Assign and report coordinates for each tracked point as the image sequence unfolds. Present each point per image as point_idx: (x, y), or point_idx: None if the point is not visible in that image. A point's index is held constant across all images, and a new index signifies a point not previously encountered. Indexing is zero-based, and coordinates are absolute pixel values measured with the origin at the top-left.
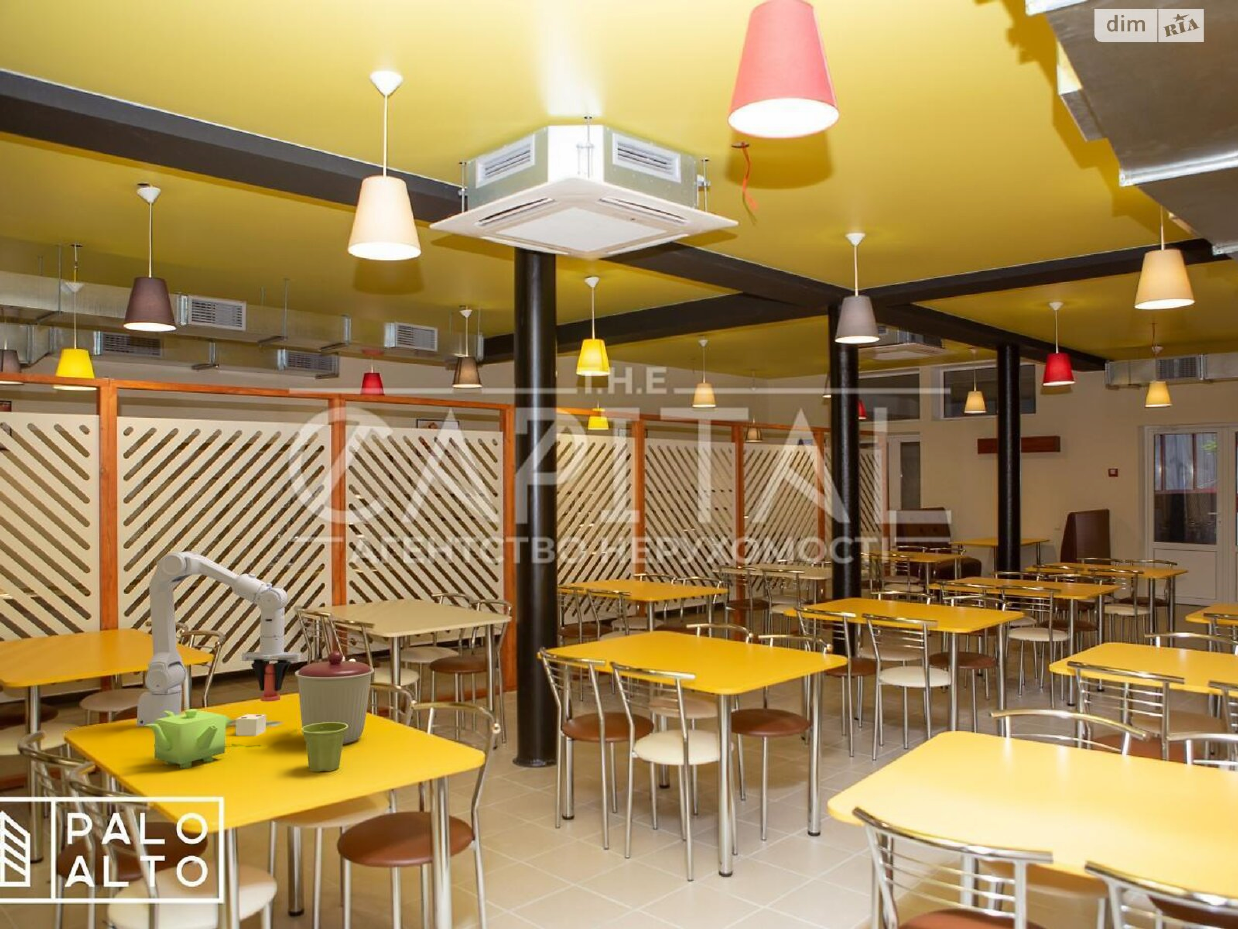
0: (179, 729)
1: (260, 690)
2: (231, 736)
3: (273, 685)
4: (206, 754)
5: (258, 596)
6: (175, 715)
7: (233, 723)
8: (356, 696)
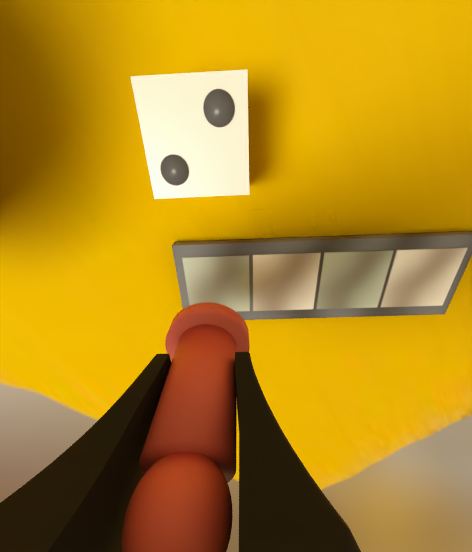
0: None
1: (248, 353)
2: (283, 154)
3: (168, 376)
4: None
5: None
6: None
7: (329, 274)
8: None
